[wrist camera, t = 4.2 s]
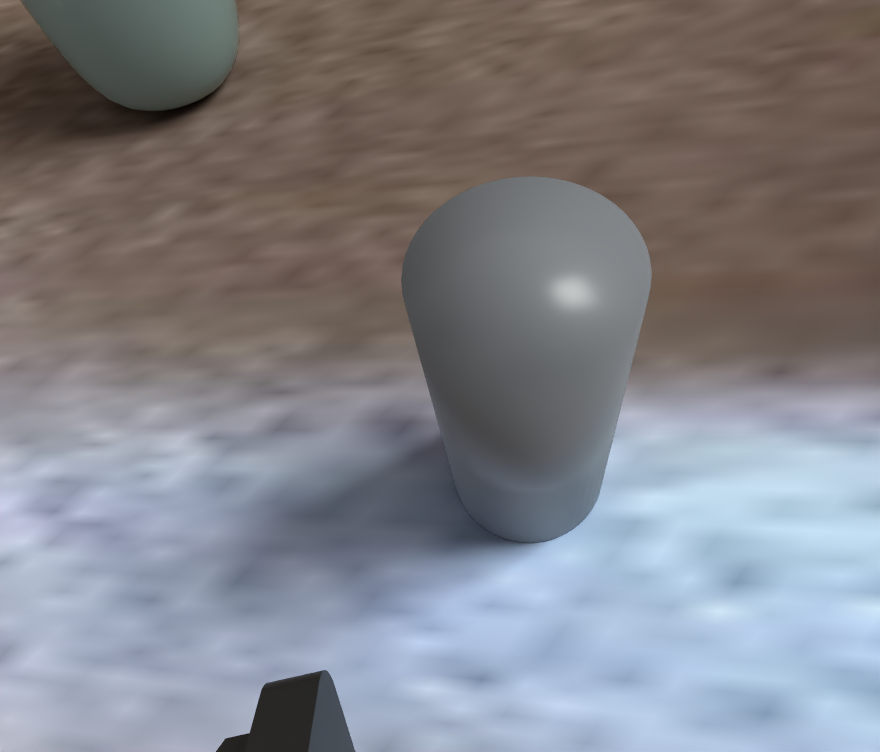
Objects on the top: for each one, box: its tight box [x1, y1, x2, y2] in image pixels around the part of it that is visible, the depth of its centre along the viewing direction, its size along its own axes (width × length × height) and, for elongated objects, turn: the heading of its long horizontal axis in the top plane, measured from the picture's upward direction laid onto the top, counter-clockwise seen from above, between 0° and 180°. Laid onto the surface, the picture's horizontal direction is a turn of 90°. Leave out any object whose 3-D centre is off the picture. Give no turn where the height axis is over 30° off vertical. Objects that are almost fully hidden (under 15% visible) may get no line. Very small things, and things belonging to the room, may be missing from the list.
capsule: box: [401, 177, 651, 543], centre depth 17 cm, size 4×4×10 cm
